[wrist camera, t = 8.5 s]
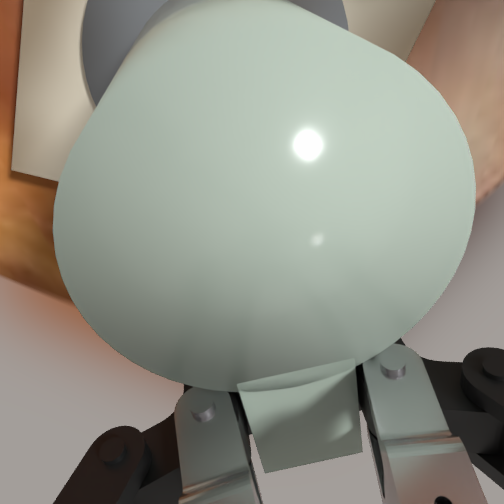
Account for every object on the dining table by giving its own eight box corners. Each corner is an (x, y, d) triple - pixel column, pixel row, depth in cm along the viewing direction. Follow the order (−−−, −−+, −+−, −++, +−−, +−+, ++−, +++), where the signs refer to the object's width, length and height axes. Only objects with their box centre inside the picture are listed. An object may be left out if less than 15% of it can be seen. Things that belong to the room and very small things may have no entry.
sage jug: (94, 8, 14) (-42, 93, 6) (315, -43, 14) (500, -31, 6) (182, 263, 20) (177, 492, 11) (339, 228, 20) (450, 432, 11)
